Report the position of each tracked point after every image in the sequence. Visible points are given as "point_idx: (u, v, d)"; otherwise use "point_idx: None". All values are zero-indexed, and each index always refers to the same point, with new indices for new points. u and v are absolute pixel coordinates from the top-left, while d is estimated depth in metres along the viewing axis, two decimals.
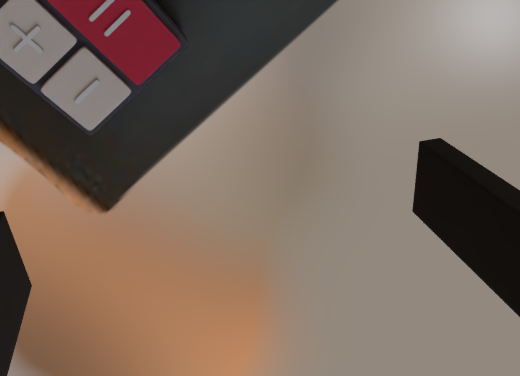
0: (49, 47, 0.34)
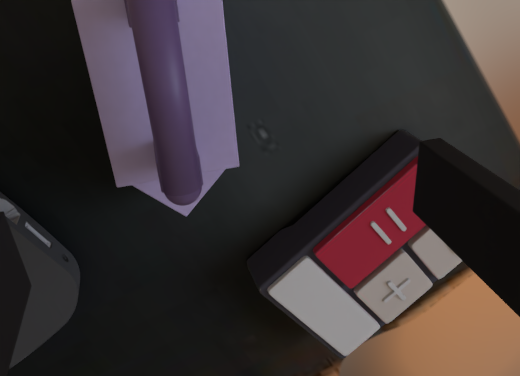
0: (406, 273, 0.35)
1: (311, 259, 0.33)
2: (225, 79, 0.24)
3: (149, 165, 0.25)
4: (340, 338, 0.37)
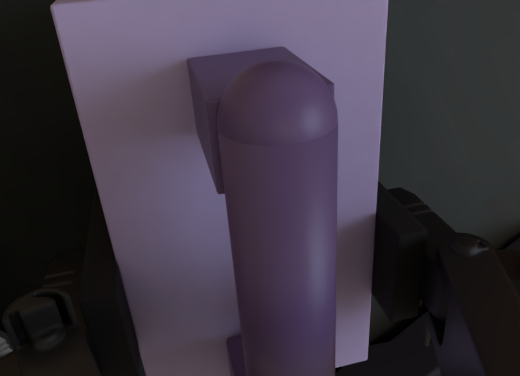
0: None
1: None
2: (367, 231, 0.12)
3: (215, 374, 0.14)
4: None
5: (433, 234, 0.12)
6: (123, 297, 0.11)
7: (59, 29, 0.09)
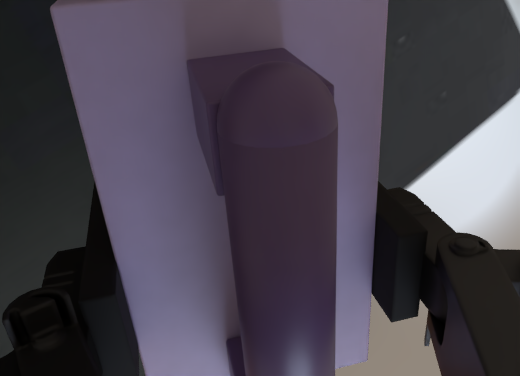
0: None
1: None
2: (366, 232, 0.12)
3: (215, 375, 0.14)
4: None
5: (434, 234, 0.12)
6: (123, 297, 0.11)
7: (59, 30, 0.09)
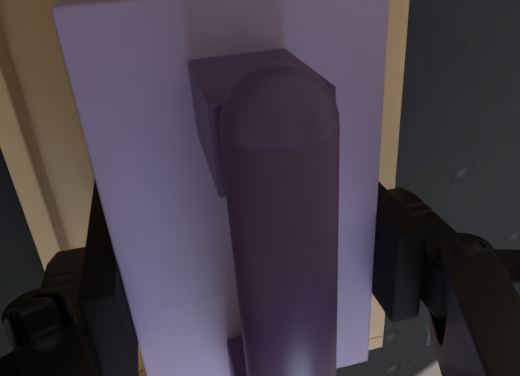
0: None
1: None
2: (367, 232, 0.12)
3: (216, 375, 0.14)
4: None
5: (434, 234, 0.12)
6: (123, 297, 0.11)
7: (60, 31, 0.09)
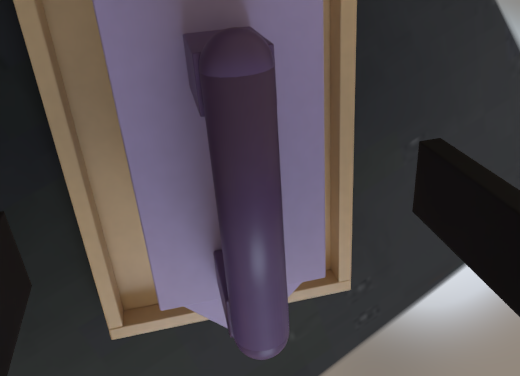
0: None
1: None
2: (318, 168, 0.17)
3: (206, 281, 0.18)
4: None
5: None
6: None
7: (97, 13, 0.13)
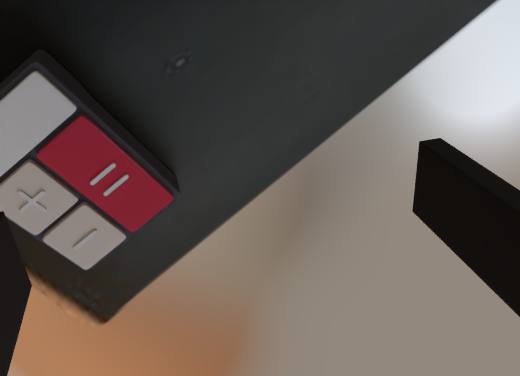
0: (52, 206, 0.37)
1: (73, 112, 0.34)
2: None
3: None
4: None
5: None
6: None
7: None
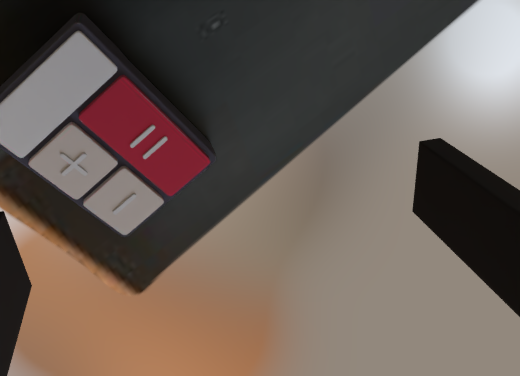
0: (93, 170, 0.38)
1: (114, 74, 0.35)
2: None
3: None
4: (7, 116, 0.34)
5: None
6: None
7: None
